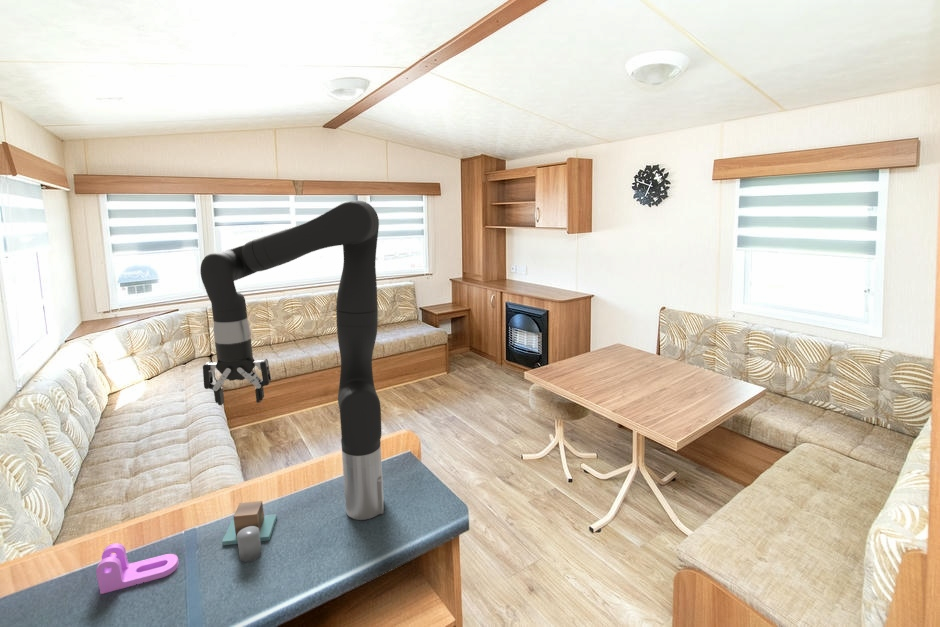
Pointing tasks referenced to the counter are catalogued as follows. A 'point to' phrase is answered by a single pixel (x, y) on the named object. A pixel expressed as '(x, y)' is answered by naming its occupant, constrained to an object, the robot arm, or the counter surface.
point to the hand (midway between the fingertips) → (240, 402)
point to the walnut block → (248, 515)
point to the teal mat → (264, 532)
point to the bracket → (130, 569)
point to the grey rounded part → (249, 543)
